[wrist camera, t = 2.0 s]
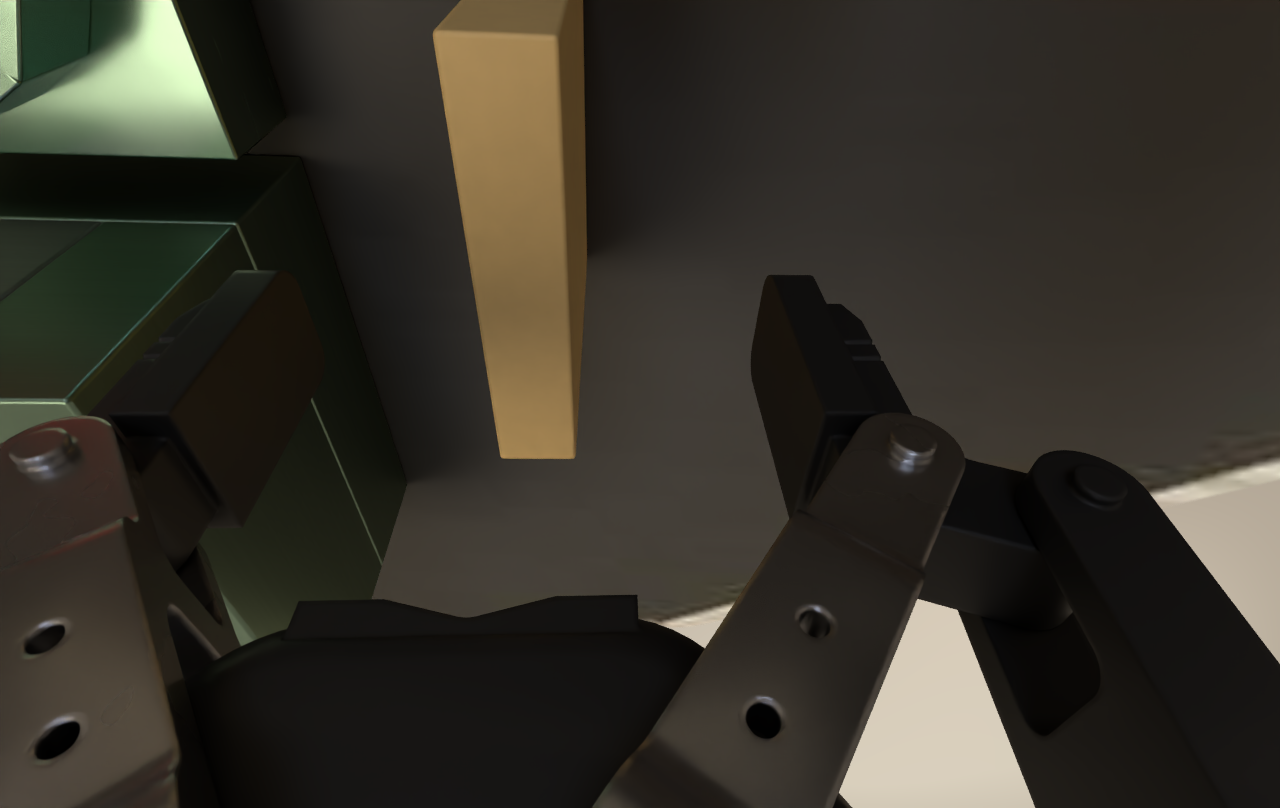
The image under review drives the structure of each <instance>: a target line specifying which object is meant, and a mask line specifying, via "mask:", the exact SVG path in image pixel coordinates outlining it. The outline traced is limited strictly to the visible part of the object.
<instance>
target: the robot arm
mask: <svg viewBox="0 0 1280 808" xmlns="http://www.w3.org/2000/svg"><path fill="white" fill-rule="evenodd" d="M158 339H159V342H154V343H153V344H152V345H151V346H150V347H149V348H148V349H147V351H146V352H145V353H144V354H143V359H138V360H137V361H136V363H135V364H134V365H133V366H132V367H131V368H130V369H129V370H128V371H127V372H126V373H125V374H124V376H123V377H122V378H121V379H120V380H119V381H118V382H117V383H116V384H115V385H114V386H113V387H112V389H111V390H110V391H109V392H108V393H107V394H106V395H105V396H104V397H103V398H102V399H101V401H100V402H99V403H98V404H97V405H96V406H95V407H94V408H93V409H92V410H91V411H90V412H89V414H88V415H87V416H71V417H64V418H59V419H54V420H51V421H47V422H44V423H41V424H38V425H36V426H33V427H30V428H28V429H26V430H24V431H22V432H20V433H18V434H16V435H14V436H13V437H11V438H9V439H7V440H6V441H4V442H3V443H1V444H0V808H852V807H851V806H850V805H849V804H848V803H847V801H846V800H845V799H844V798H843V797H842V796H841V795H840V794H839V790H840V788H841V785H842V783H843V780H844V778H845V775H846V773H847V771H848V768H849V766H850V763H851V760H852V758H853V756H854V753H855V751H856V748H857V746H858V743H859V741H860V738H861V736H862V734H863V731H864V729H865V726H866V724H867V721H868V719H869V716H870V714H871V711H872V709H873V707H874V704H875V702H876V699H877V697H878V694H879V692H880V689H881V687H882V684H883V682H884V679H885V677H886V674H887V672H888V670H889V667H890V665H891V662H892V660H893V657H894V655H895V652H896V650H897V647H898V645H899V642H900V640H901V638H902V635H903V633H904V630H905V628H906V625H907V623H908V620H909V618H910V615H911V613H912V610H913V608H914V606H915V603H916V600H917V599H921V600H924V601H928V602H931V603H935V604H939V605H942V606H946V607H949V608H953V609H957V610H958V612H959V615H960V617H961V619H962V622H963V624H964V627H965V630H966V632H967V634H968V637H969V640H970V642H971V645H972V647H973V650H974V652H975V655H976V658H977V660H978V663H979V665H980V668H981V671H982V673H983V675H984V678H985V681H986V683H987V686H988V688H989V691H990V693H991V696H992V698H993V701H994V704H995V706H996V709H997V711H998V714H999V716H1000V719H1001V721H1002V724H1003V726H1004V729H1005V731H1006V734H1007V737H1008V739H1009V742H1010V744H1011V746H1012V749H1013V752H1014V754H1015V757H1016V759H1017V762H1018V765H1019V767H1020V770H1021V772H1022V775H1023V777H1024V780H1025V782H1026V785H1027V787H1028V790H1029V793H1030V795H1031V798H1032V800H1033V802H1034V805H1035V808H1280V664H1279V662H1278V661H1277V660H1276V658H1275V657H1274V656H1273V655H1272V653H1271V652H1270V651H1269V649H1268V648H1267V647H1266V646H1265V644H1264V643H1263V641H1262V640H1261V639H1260V638H1259V637H1258V635H1257V634H1256V632H1255V631H1254V630H1253V628H1252V627H1251V626H1250V624H1249V623H1248V622H1247V621H1246V619H1245V618H1244V617H1243V615H1242V614H1241V613H1240V611H1239V610H1238V609H1237V607H1236V606H1235V605H1234V603H1233V602H1232V601H1231V600H1230V598H1229V597H1228V596H1227V594H1226V593H1225V592H1224V590H1223V589H1222V588H1221V586H1220V585H1219V584H1218V583H1217V581H1216V580H1215V579H1214V577H1213V576H1212V575H1211V573H1210V572H1209V571H1208V569H1207V568H1206V567H1205V565H1204V564H1203V563H1202V562H1201V560H1200V559H1199V558H1198V556H1197V555H1196V554H1195V552H1194V551H1193V550H1192V549H1191V547H1190V546H1189V545H1188V543H1187V542H1186V541H1185V539H1184V538H1183V537H1182V535H1181V534H1180V533H1179V531H1178V530H1177V529H1176V528H1175V526H1174V525H1173V524H1172V522H1171V521H1170V520H1169V518H1168V517H1167V516H1166V515H1165V513H1164V512H1163V510H1162V509H1161V508H1160V507H1159V505H1158V504H1157V503H1156V501H1155V500H1154V499H1153V497H1152V496H1151V495H1150V493H1149V492H1148V491H1147V490H1146V489H1145V488H1144V486H1143V485H1142V484H1141V483H1139V482H1138V481H1137V480H1136V479H1135V478H1134V477H1133V476H1131V475H1130V474H1129V473H1127V472H1126V471H1124V470H1123V469H1121V468H1119V467H1118V466H1116V465H1114V464H1112V463H1110V462H1108V461H1106V460H1104V459H1101V458H1099V457H1096V456H1093V455H1090V454H1086V453H1082V452H1077V451H1068V450H1061V451H1053V452H1049V453H1046V454H1043V455H1042V456H1041V457H1039V458H1038V459H1037V461H1036V462H1035V463H1034V465H1033V466H1032V468H1031V469H1030V471H1029V472H1028V473H1023V472H1019V471H1014V470H1010V469H1006V468H1001V467H997V466H993V465H988V464H984V463H980V462H976V461H972V460H969V459H966V458H965V457H964V454H963V451H962V449H961V447H960V446H959V444H958V443H957V442H956V441H955V439H954V438H953V437H952V436H951V435H950V434H948V433H947V432H946V431H945V430H943V429H942V428H940V427H939V426H937V425H935V424H934V423H932V422H929V421H927V420H925V419H922V418H920V417H917V416H913V415H912V414H911V412H910V410H909V408H908V406H907V405H906V403H905V401H904V399H903V397H902V395H901V393H900V392H899V390H898V388H897V386H896V384H895V382H894V380H893V378H892V377H891V375H890V373H889V371H888V369H887V367H886V365H885V364H884V362H883V361H881V356H880V354H879V352H878V351H877V349H876V347H875V345H872V339H871V337H870V336H869V334H868V332H867V330H866V328H865V326H864V324H863V323H862V321H861V320H860V319H859V318H857V317H856V316H855V315H854V314H852V313H851V312H850V311H849V310H847V309H846V308H845V307H844V306H843V305H841V304H826V302H825V300H824V298H823V295H822V293H821V291H820V289H819V287H818V285H817V283H816V281H815V279H814V277H813V276H811V275H768V276H767V278H766V280H765V283H764V286H763V291H762V296H761V302H760V307H759V312H758V318H757V323H756V328H755V334H754V339H753V344H752V351H751V376H752V382H753V386H754V389H755V393H756V397H757V401H758V404H759V408H760V412H761V415H762V419H763V423H764V427H765V430H766V434H767V438H768V441H769V445H770V449H771V452H772V456H773V460H774V464H775V467H776V471H777V475H778V478H779V482H780V486H781V489H782V493H783V497H784V501H785V504H786V508H787V512H788V515H789V521H788V522H787V524H786V525H785V527H784V528H783V530H782V531H781V533H780V534H779V536H778V538H777V539H776V541H775V542H774V544H773V545H772V547H771V548H770V550H769V551H768V553H767V554H766V556H765V557H764V559H763V560H762V562H761V564H760V565H759V567H758V568H757V570H756V571H755V573H754V574H753V576H752V577H751V579H750V580H749V582H748V583H747V585H746V586H745V588H744V590H743V591H742V593H741V594H740V596H739V597H738V599H737V600H736V602H735V603H734V605H733V606H732V608H731V609H730V611H729V612H728V614H727V616H726V617H725V619H724V620H723V622H722V623H721V625H720V626H719V628H718V629H717V631H716V633H715V634H714V636H713V637H712V639H711V640H710V642H709V643H708V645H707V646H706V648H703V647H702V646H700V645H699V644H697V643H696V642H694V641H693V640H691V639H690V638H688V637H686V636H684V635H682V634H680V633H678V632H676V631H674V630H672V629H669V628H666V627H664V626H661V625H658V624H656V623H652V622H648V621H644V620H640V619H638V600H637V595H600V596H555V597H551V598H547V599H543V600H539V601H535V602H531V603H527V604H523V605H519V606H515V607H511V608H507V609H504V610H500V611H496V612H492V613H488V614H484V615H480V616H476V617H470V618H462V617H456V616H452V615H448V614H443V613H439V612H435V611H431V610H427V609H422V608H418V607H414V606H410V605H405V604H401V603H397V602H393V601H388V600H384V599H376V600H320V601H299V602H298V604H297V606H296V609H295V611H294V614H293V616H292V619H291V621H290V623H289V626H288V628H287V629H285V630H281V631H278V632H275V633H272V634H269V635H267V636H264V637H261V638H258V639H256V640H254V641H252V642H249V643H247V644H245V645H243V646H241V645H240V643H239V641H238V638H237V636H236V633H235V630H234V628H233V625H232V622H231V619H230V617H229V614H228V611H227V608H226V605H225V603H224V600H223V597H222V594H221V592H220V589H219V586H218V583H217V581H216V578H215V575H214V572H213V570H212V567H211V564H210V561H209V558H208V556H207V554H206V552H205V550H204V549H203V547H202V546H201V545H200V543H199V540H200V538H201V537H202V535H203V533H204V532H205V530H206V528H243V526H244V524H245V522H246V520H247V518H248V516H249V515H250V513H251V511H252V509H253V507H254V505H255V504H256V502H257V500H258V498H259V496H260V494H261V492H262V491H263V489H264V487H265V485H266V483H267V481H268V479H269V478H270V476H271V474H272V472H273V470H274V468H275V466H276V465H277V463H278V461H279V459H280V457H281V455H282V453H283V452H284V450H285V448H286V446H287V444H288V442H289V440H290V439H291V437H292V435H293V433H294V431H295V429H296V427H297V426H298V424H299V422H300V420H301V418H302V416H303V414H304V413H305V411H306V409H307V407H308V405H309V403H310V401H311V400H312V398H313V396H314V394H315V392H316V390H317V389H318V387H319V385H320V383H321V381H322V378H323V375H324V368H325V357H324V351H323V347H322V344H321V341H320V338H319V336H318V333H317V331H316V328H315V326H314V323H313V320H312V318H311V315H310V313H309V310H308V307H307V305H306V302H305V300H304V297H303V295H302V292H301V289H300V287H299V284H298V282H297V280H296V279H295V277H294V276H293V275H292V274H291V273H290V272H288V271H285V270H237V271H235V272H234V273H232V274H231V275H230V277H229V278H228V279H227V280H226V281H225V282H224V283H223V285H222V286H221V287H220V288H219V289H218V290H217V291H216V292H215V294H214V295H213V296H212V297H211V298H210V299H209V300H205V301H203V302H202V303H200V304H198V305H197V306H195V307H193V308H192V309H190V310H188V311H187V312H185V313H183V314H182V315H180V316H178V317H177V318H176V319H175V320H174V321H173V322H172V323H171V324H170V326H169V327H168V328H167V329H166V330H165V331H164V332H163V333H162V334H161V335H160V336H159V338H158Z"/></svg>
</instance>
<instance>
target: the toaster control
mask: <svg viewBox="0 0 1280 808" xmlns="http://www.w3.org/2000/svg"><path fill="white" fill-rule="evenodd" d="M285 118H286V112H285V109H284V106H283V103H282V99H281V96H280V93H279V90H278V87H277V84H276V81H275V78H274V75H273V72H272V69H271V66H270V63H269V60H268V57H267V54H266V50H265V47H264V44H263V41H262V38H261V35H260V32H259V29H258V26H257V23H256V20H255V17H254V14H253V11H252V8H251V5H250V1H249V0H0V153H5V154H39V155H73V156H106V157H140V158H174V159H207V160H238V159H240V158H241V157H242V156H243V155H244V154H245V153H247V152H248V151H249V150H250V149H251V148H252V147H253V146H255V145H256V144H257V143H258V142H259V141H260V140H261V139H262V138H264V137H265V136H266V135H267V134H268V133H269V132H270V131H272V130H273V129H274V128H275V127H276V126H277V125H278V124H280V123H281V122H282V121H283V120H284V119H285Z"/></svg>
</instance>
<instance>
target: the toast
mask: <svg viewBox="0 0 1280 808" xmlns="http://www.w3.org/2000/svg"><path fill="white" fill-rule="evenodd" d="M433 40H434V46H435V53H436V59H437V65H438V71H439V77H440V84H441V90H442V96H443V102H444V108H445V115H446V121H447V127H448V133H449V140H450V146H451V152H452V158H453V164H454V171H455V177H456V183H457V189H458V195H459V202H460V208H461V214H462V220H463V227H464V233H465V239H466V245H467V251H468V258H469V264H470V270H471V276H472V282H473V289H474V295H475V301H476V307H477V314H478V320H479V326H480V332H481V338H482V345H483V351H484V357H485V363H486V369H487V376H488V382H489V388H490V394H491V401H492V407H493V413H494V419H495V425H496V432H497V438H498V444H499V450H500V456H501V457H502V458H504V459H573V458H574V457H575V456H576V442H577V425H578V407H579V390H580V372H581V355H582V338H583V320H584V303H585V286H586V268H587V222H586V159H585V96H584V33H583V0H461V1H460V2H459V3H458V4H457V5H456V6H455V7H454V9H453V10H452V11H451V12H450V13H449V14H448V15H447V16H446V18H445V19H444V20H443V21H442V22H441V23H440V24H439V25H438V26H437V28H436V29H435V30H434V32H433Z"/></svg>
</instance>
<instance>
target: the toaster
mask: <svg viewBox="0 0 1280 808" xmlns="http://www.w3.org/2000/svg"><path fill="white" fill-rule="evenodd" d="M237 270H285V271H288V272H290V273H291V274H292V275H293V276H294V277H295V279H296V280H297V282H298V284H299V287H300V289H301V292H302V295H303V297H304V300H305V302H306V305H307V307H308V310H309V313H310V315H311V318H312V320H313V323H314V326H315V328H316V331H317V333H318V336H319V338H320V341H321V344H322V347H323V351H324V357H325V368H324V375H323V378H322V381H321V383H320V385H319V387H318V389H317V390H316V392H315V394H314V396H313V398H312V400H311V401H310V403H309V405H308V407H307V409H306V411H305V413H304V414H303V416H302V418H301V420H300V422H299V424H298V426H297V427H296V429H295V431H294V433H293V435H292V437H291V439H290V440H289V442H288V444H287V446H286V448H285V450H284V452H283V453H282V455H281V457H280V459H279V461H278V463H277V465H276V466H275V468H274V470H273V472H272V474H271V476H270V478H269V479H268V481H267V483H266V485H265V487H264V489H263V491H262V492H261V494H260V496H259V498H258V500H257V502H256V504H255V505H254V507H253V509H252V511H251V513H250V515H249V516H248V518H247V520H246V522H245V524H244V526H243V528H206V530H205V532H204V533H203V535H202V537H201V538H200V540H199V543H200V545H201V546H202V547H203V549H204V550H205V552H206V554H207V556H208V558H209V561H210V564H211V567H212V570H213V572H214V575H215V578H216V581H217V583H218V586H219V589H220V592H221V594H222V597H223V600H224V603H225V605H226V608H227V611H228V614H229V617H230V619H231V622H232V625H233V628H234V630H235V633H236V636H237V638H238V641H239V643H240V645H241V646H243V645H245V644H247V643H249V642H252V641H254V640H256V639H258V638H261V637H264V636H267V635H269V634H272V633H275V632H278V631H281V630H285V629H287V628H288V626H289V623H290V621H291V619H292V616H293V614H294V611H295V609H296V606H297V604H298V602H299V601H320V600H371V599H372V596H373V592H374V589H375V586H376V583H377V580H378V576H379V573H380V570H381V567H382V566H381V564H382V563H383V560H384V557H385V554H386V551H387V548H388V544H389V541H390V538H391V535H392V532H393V528H394V525H395V522H396V519H397V516H398V512H399V509H400V506H401V503H402V500H403V496H404V493H405V490H406V487H407V482H406V479H405V476H404V473H403V470H402V467H401V464H400V461H399V458H398V455H397V452H396V449H395V446H394V443H393V440H392V437H391V433H390V430H389V427H388V424H387V421H386V418H385V415H384V412H383V409H382V406H381V403H380V400H379V397H378V394H377V391H376V388H375V384H374V381H373V378H372V375H371V372H370V369H369V366H368V363H367V360H366V357H365V354H364V351H363V348H362V345H361V342H360V339H359V335H358V332H357V329H356V326H355V323H354V320H353V317H352V314H351V311H350V308H349V305H348V302H347V299H346V296H345V293H344V290H343V286H342V283H341V280H340V277H339V274H338V271H337V268H336V265H335V262H334V259H333V256H332V253H331V250H330V247H329V244H328V241H327V237H326V234H325V231H324V228H323V225H322V222H321V219H320V216H319V213H318V210H317V207H316V204H315V201H314V198H313V195H312V192H311V188H310V185H309V182H308V179H307V176H306V173H305V170H304V167H303V164H302V161H301V159H300V158H299V157H284V156H251V155H243V156H242V157H241V158H240V159H238V160H207V159H174V158H140V157H106V156H73V155H39V154H5V153H0V444H1V443H3V442H4V441H6V440H7V439H9V438H11V437H13V436H14V435H16V434H18V433H20V432H22V431H24V430H26V429H28V428H30V427H33V426H36V425H38V424H41V423H44V422H47V421H51V420H54V419H59V418H64V417H71V416H87V415H88V414H89V412H90V411H91V410H92V409H93V408H94V407H95V406H96V405H97V404H98V403H99V402H100V401H101V399H102V398H103V397H104V396H105V395H106V394H107V393H108V392H109V391H110V390H111V389H112V387H113V386H114V385H115V384H116V383H117V382H118V381H119V380H120V379H121V378H122V377H123V376H124V374H125V373H126V372H127V371H128V370H129V369H130V368H131V367H132V366H133V365H134V364H135V363H136V361H137V360H138V359H143V354H144V353H145V352H146V351H147V349H148V348H149V347H150V346H151V345H152V344H153V343H154V342H159V339H158V338H159V336H160V335H161V334H162V333H163V332H164V331H165V330H166V329H167V328H168V327H169V326H170V324H171V323H172V322H173V321H174V320H175V319H176V318H177V317H178V316H180V315H182V314H183V313H185V312H187V311H188V310H190V309H192V308H193V307H195V306H197V305H198V304H200V303H202V302H203V301H205V300H209V299H210V298H211V297H212V296H213V295H214V294H215V292H216V291H217V290H218V289H219V288H220V287H221V286H222V285H223V283H224V282H225V281H226V280H227V279H228V278H229V277H230V275H231V274H232V273H234V272H235V271H237Z"/></svg>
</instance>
